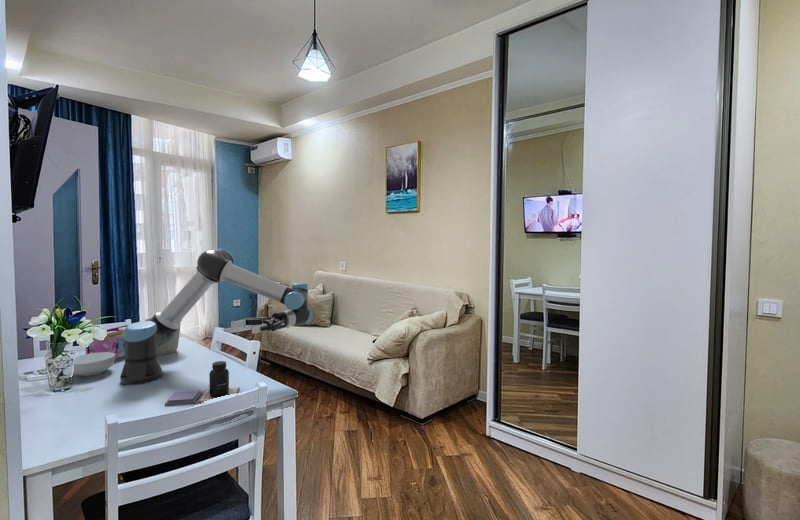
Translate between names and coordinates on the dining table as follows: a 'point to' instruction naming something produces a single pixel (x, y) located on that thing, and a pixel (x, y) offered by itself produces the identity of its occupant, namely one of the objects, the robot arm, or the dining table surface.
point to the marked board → (207, 396)
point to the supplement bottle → (219, 379)
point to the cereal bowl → (93, 363)
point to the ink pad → (184, 397)
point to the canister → (169, 343)
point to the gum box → (110, 343)
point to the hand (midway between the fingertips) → (241, 327)
